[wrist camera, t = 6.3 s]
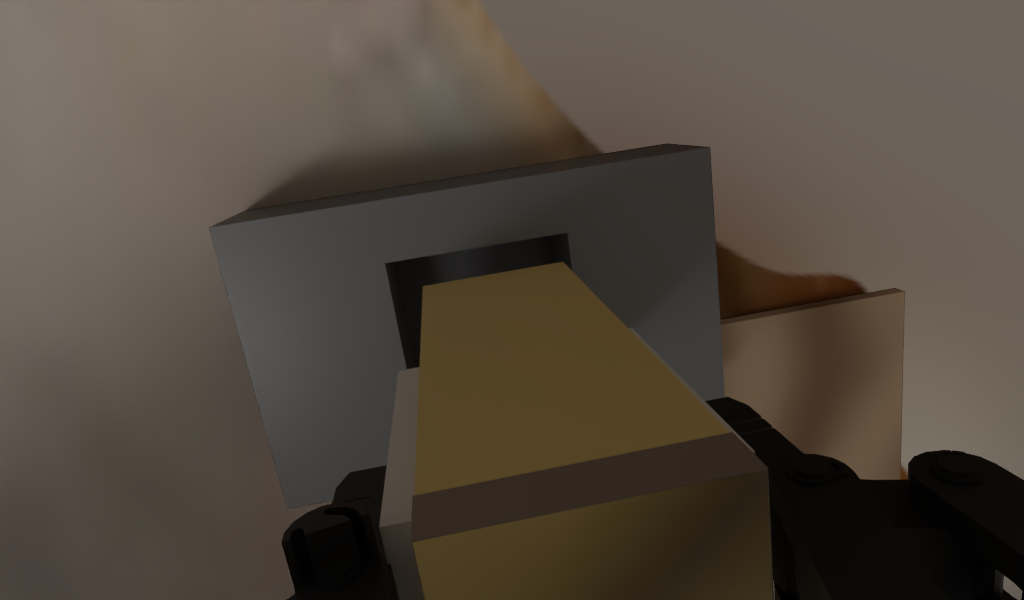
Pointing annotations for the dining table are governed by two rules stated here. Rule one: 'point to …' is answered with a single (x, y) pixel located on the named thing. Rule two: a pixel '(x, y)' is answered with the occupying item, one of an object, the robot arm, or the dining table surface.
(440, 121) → the dining table surface
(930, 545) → the robot arm
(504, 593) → the plug
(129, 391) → the dining table surface
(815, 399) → the pad
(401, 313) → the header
